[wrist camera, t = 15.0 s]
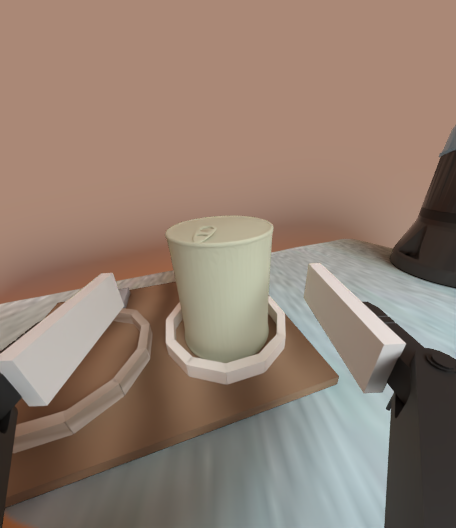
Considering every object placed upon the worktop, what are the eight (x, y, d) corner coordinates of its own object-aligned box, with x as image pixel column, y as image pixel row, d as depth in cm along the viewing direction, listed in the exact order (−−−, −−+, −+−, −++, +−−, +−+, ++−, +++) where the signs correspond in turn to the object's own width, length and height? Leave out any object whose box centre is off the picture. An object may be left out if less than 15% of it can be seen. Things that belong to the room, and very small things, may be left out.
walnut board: (246, 274, 34) (246, 261, 33) (336, 384, 16) (343, 364, 15) (60, 308, 28) (53, 294, 27) (-148, 564, 9) (-198, 551, 8)
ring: (243, 272, 33) (242, 264, 32) (310, 357, 17) (313, 346, 17) (168, 286, 30) (166, 277, 29) (168, 403, 14) (165, 391, 14)
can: (167, 351, 19) (136, 233, 14) (206, 298, 27) (195, 210, 22) (260, 377, 16) (264, 240, 11) (273, 309, 24) (279, 211, 19)
